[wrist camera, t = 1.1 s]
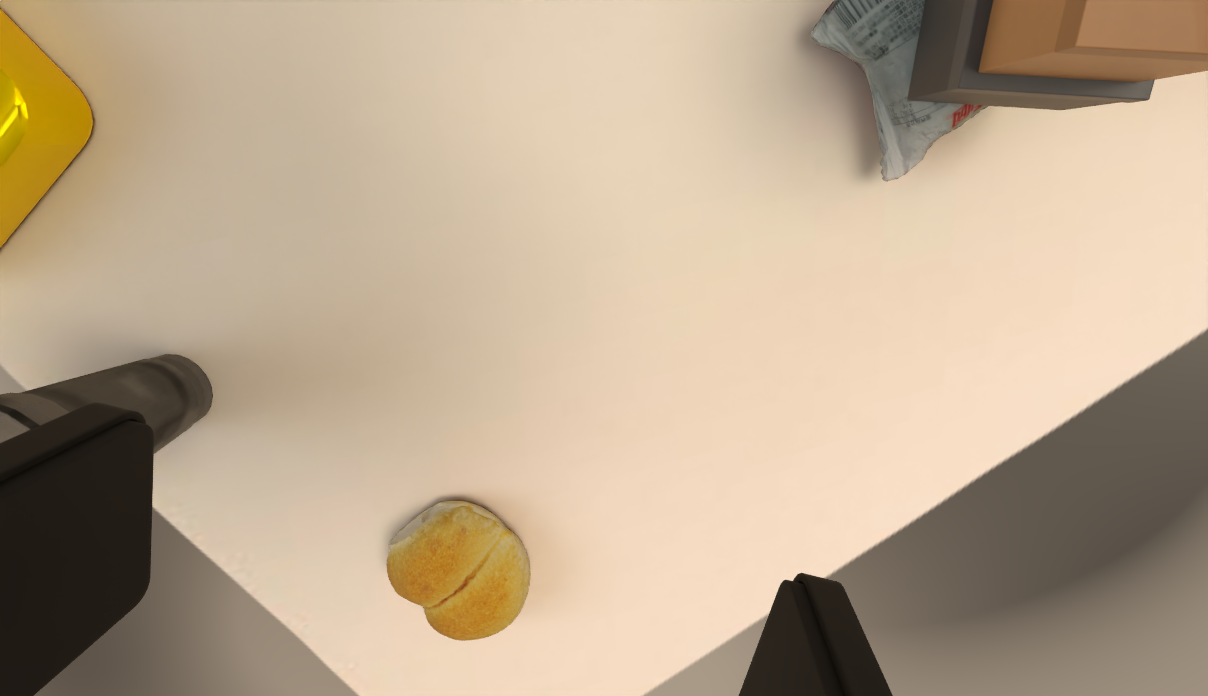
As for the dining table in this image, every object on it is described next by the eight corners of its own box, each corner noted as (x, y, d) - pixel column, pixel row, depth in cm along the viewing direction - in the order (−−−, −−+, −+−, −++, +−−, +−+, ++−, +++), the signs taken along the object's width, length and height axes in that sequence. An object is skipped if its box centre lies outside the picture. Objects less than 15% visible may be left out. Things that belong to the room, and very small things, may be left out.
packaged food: (1099, 50, 31) (1179, 28, 27) (873, 182, 34) (909, 184, 29) (1026, -123, 30) (1097, -179, 25) (794, 29, 32) (818, 4, 27)
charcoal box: (936, -74, 26) (1002, -128, 21) (1106, -65, 26) (1210, -118, 21) (904, 101, 28) (958, 88, 23) (1062, 111, 28) (1149, 100, 23)
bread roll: (468, 637, 43) (450, 683, 40) (377, 542, 42) (349, 581, 38) (562, 575, 42) (553, 617, 38) (471, 474, 40) (452, 507, 36)
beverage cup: (214, 325, 38) (-219, 487, 19) (248, 437, 40) (-115, 687, 21) (103, 339, 39) (-422, 508, 20) (141, 448, 41) (-304, 699, 22)
